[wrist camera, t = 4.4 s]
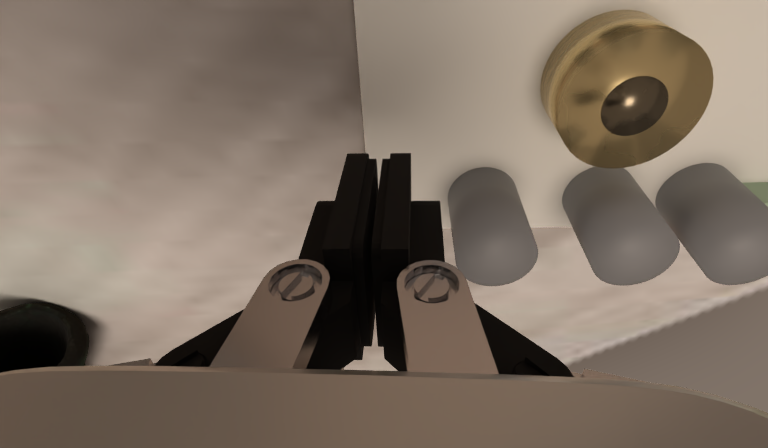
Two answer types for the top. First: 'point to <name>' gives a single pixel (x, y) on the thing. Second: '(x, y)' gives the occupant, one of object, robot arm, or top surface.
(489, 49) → the board
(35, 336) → the tool
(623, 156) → the gold short round piece
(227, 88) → the top surface
